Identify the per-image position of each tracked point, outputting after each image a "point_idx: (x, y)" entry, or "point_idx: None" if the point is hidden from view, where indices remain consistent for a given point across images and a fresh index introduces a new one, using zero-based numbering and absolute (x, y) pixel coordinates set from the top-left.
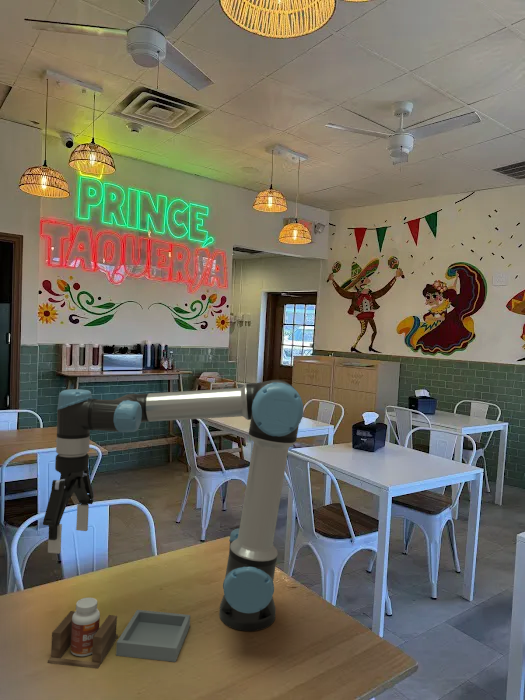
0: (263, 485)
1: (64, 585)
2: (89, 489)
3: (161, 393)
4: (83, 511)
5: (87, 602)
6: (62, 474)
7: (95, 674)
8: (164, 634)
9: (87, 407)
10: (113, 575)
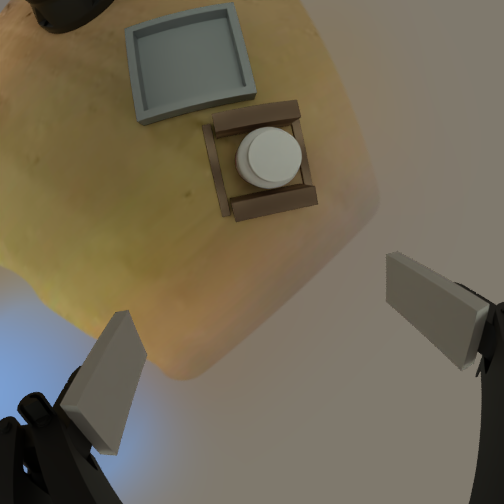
0: None
1: None
2: (13, 495)
3: None
4: (104, 396)
5: (275, 153)
6: None
7: (308, 106)
8: (171, 53)
9: None
10: (42, 274)
